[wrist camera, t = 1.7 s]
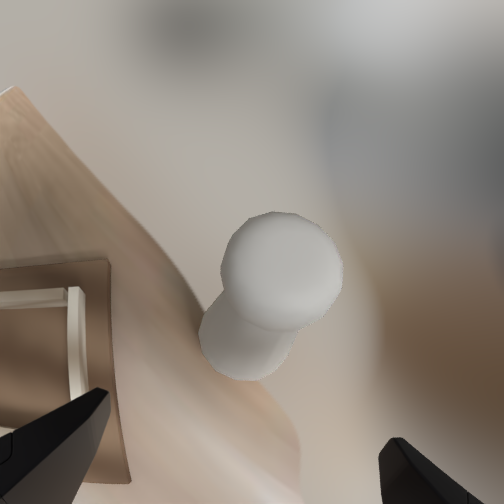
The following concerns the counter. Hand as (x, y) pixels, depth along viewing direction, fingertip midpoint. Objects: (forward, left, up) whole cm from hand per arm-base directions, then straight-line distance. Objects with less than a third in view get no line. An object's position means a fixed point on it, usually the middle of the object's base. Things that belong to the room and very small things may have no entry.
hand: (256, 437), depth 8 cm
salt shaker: (+5, -2, -12) cm, 13 cm away
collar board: (+4, +14, -12) cm, 19 cm away
